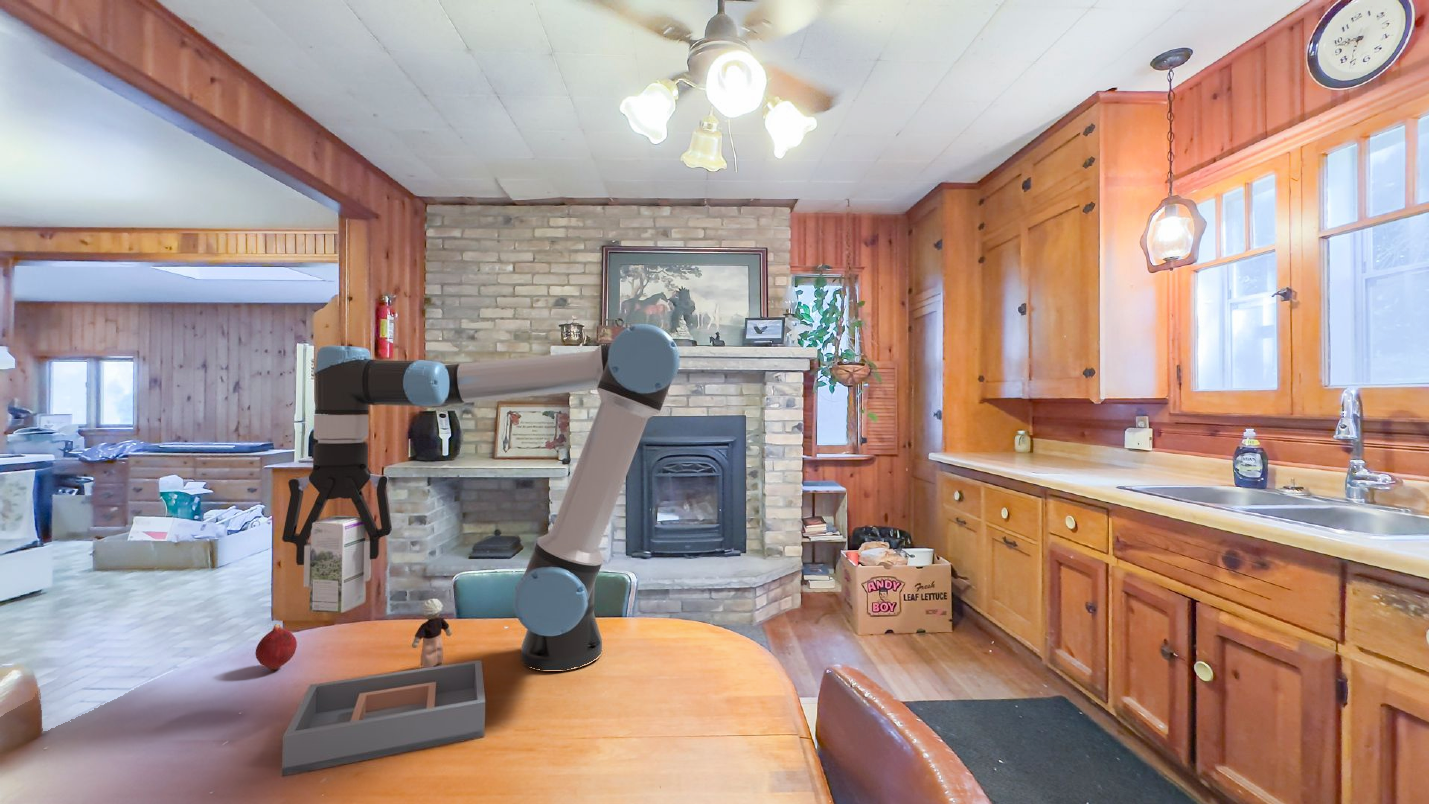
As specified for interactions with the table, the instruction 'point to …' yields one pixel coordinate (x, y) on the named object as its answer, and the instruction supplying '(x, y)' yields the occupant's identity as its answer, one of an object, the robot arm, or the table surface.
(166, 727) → the table surface
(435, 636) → the grandmother figurine
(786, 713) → the table surface
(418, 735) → the walled box
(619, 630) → the table surface
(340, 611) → the syrup box
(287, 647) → the onion
